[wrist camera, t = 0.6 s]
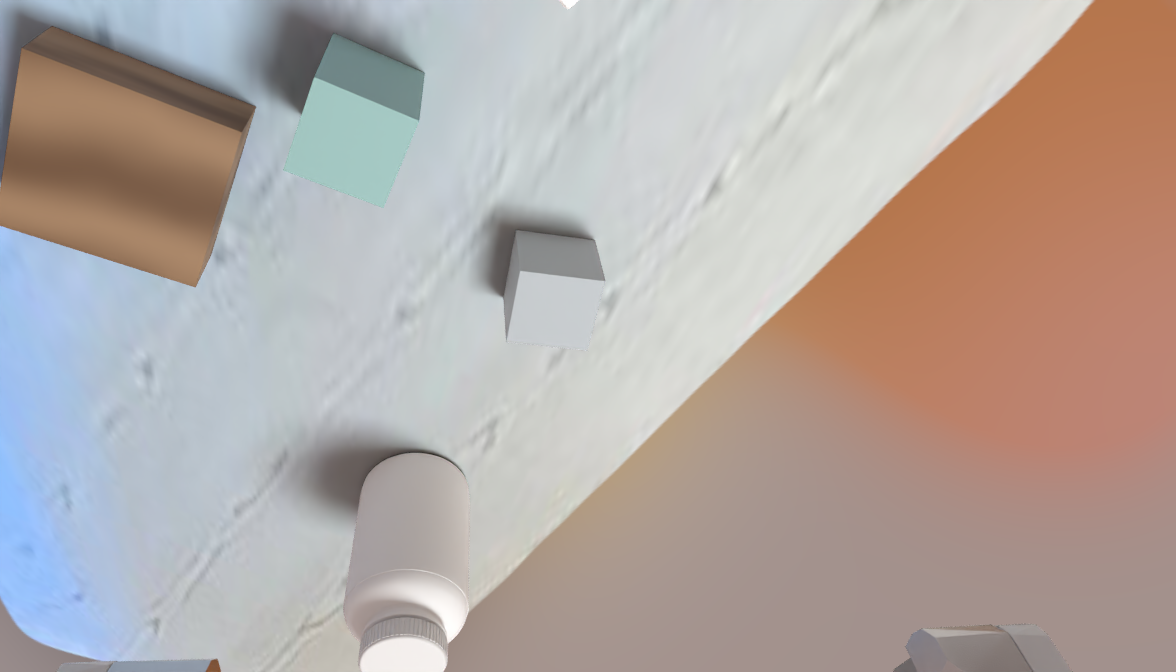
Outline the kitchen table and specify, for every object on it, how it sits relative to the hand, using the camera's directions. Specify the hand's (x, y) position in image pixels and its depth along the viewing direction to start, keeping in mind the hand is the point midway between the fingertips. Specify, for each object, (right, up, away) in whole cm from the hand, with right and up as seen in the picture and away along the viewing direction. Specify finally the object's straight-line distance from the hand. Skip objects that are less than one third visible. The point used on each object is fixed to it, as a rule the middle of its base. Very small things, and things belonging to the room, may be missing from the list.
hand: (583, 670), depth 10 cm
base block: (-25, +14, +37) cm, 47 cm away
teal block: (-12, +17, +36) cm, 42 cm away
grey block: (-2, +8, +44) cm, 45 cm away
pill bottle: (-13, -7, +54) cm, 56 cm away
